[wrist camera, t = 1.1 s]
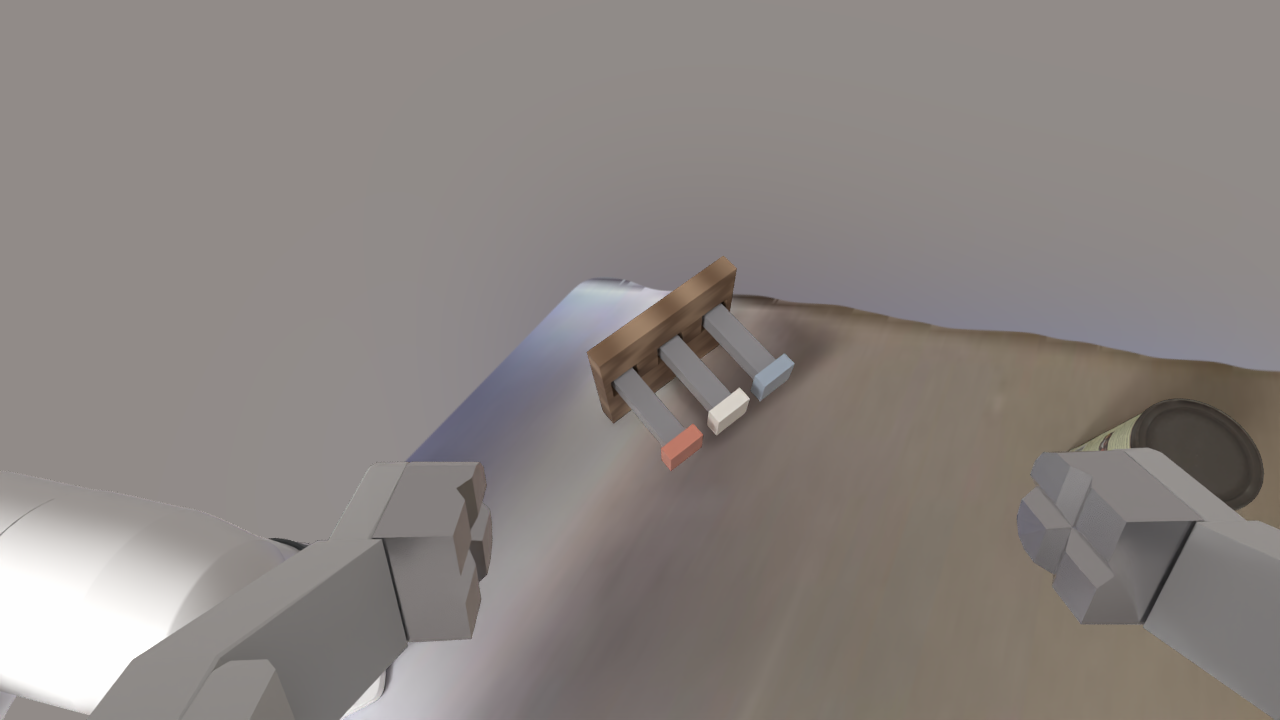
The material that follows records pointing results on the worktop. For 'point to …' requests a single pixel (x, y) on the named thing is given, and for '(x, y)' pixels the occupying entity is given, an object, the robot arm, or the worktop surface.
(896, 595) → the worktop surface
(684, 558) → the worktop surface
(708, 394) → the off-white plunger
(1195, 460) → the coffee can
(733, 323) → the blue-capped grey rod
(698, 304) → the walnut panel
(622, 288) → the worktop surface
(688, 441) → the brick-red plunger
